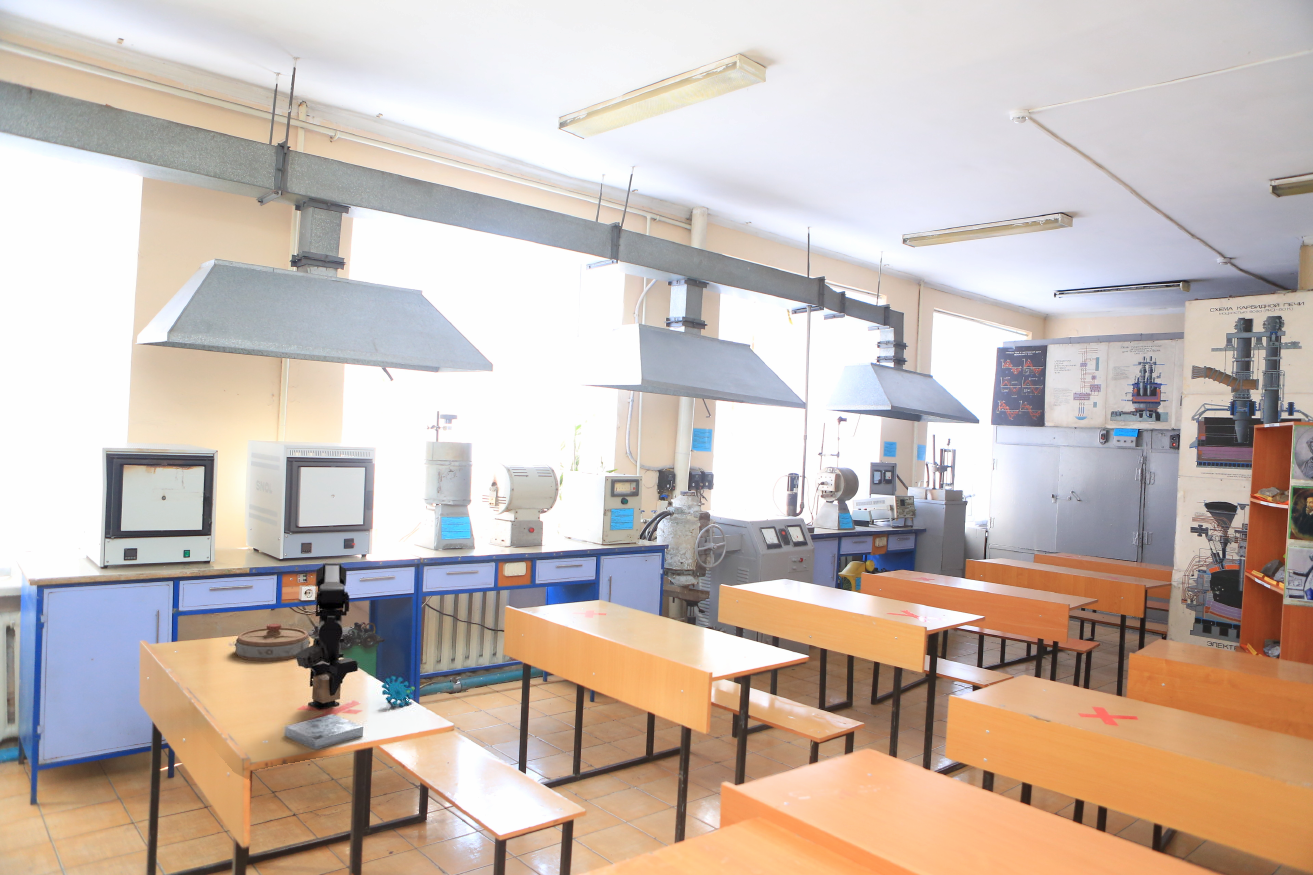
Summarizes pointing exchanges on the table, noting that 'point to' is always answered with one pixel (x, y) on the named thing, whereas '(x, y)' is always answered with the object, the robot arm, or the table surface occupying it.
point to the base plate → (323, 731)
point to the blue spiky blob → (397, 691)
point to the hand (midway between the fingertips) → (326, 692)
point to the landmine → (271, 643)
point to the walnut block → (323, 689)
